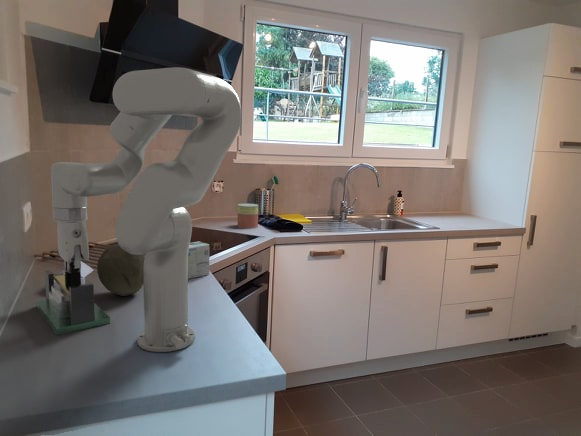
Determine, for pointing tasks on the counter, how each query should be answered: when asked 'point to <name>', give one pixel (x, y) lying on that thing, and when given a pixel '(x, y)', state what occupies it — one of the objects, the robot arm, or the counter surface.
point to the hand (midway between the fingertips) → (73, 286)
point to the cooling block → (70, 307)
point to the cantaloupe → (121, 271)
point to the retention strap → (61, 281)
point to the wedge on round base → (84, 272)
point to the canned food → (247, 216)
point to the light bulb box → (198, 259)
